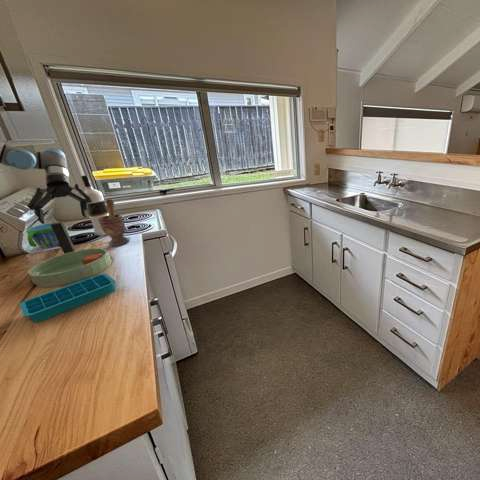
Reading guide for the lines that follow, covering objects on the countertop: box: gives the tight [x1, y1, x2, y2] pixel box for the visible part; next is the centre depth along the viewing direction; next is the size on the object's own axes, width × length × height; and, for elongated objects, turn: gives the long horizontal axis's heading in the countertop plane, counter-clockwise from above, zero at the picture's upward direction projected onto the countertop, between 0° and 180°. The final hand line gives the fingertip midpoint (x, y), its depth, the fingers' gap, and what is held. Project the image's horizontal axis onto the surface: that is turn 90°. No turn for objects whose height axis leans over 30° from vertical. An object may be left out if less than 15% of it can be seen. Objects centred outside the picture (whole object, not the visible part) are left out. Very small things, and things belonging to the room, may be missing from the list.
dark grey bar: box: [50, 220, 77, 254], centre depth 103 cm, size 3×3×16 cm
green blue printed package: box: [25, 222, 60, 249], centre depth 119 cm, size 16×10×10 cm
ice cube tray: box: [19, 272, 117, 323], centre depth 77 cm, size 12×20×3 cm, turn 143°
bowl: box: [27, 247, 113, 288], centre depth 94 cm, size 22×22×5 cm
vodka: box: [80, 175, 109, 237], centre depth 130 cm, size 9×9×30 cm
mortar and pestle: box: [98, 198, 130, 247], centre depth 118 cm, size 12×9×20 cm
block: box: [82, 254, 102, 265], centre depth 96 cm, size 4×4×4 cm
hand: (63, 218), depth 108 cm, fingers open, 13 cm apart
